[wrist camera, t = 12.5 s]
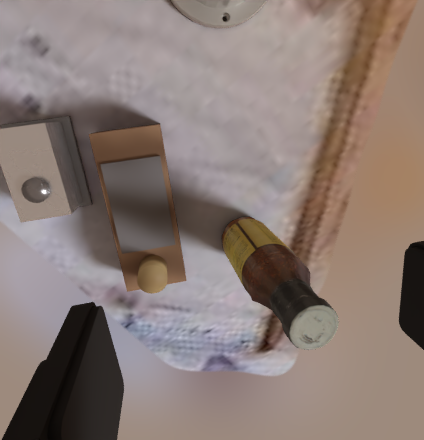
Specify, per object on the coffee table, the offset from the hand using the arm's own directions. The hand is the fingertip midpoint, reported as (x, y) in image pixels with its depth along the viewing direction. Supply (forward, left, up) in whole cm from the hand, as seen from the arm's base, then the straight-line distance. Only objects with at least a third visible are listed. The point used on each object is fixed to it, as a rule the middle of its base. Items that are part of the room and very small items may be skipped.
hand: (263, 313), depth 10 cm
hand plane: (+4, -6, -30) cm, 31 cm away
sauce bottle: (+11, +6, -31) cm, 33 cm away
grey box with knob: (-2, -15, -30) cm, 34 cm away
